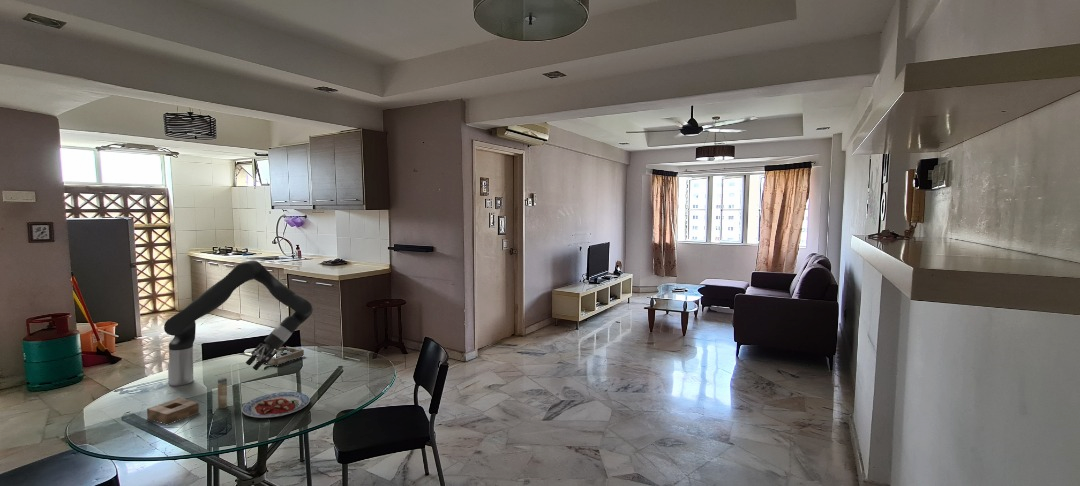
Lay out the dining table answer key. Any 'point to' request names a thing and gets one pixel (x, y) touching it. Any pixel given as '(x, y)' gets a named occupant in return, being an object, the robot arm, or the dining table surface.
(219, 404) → the dowel
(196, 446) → the dining table surface
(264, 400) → the ceramic plate
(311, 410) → the dining table surface
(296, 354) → the figure corral
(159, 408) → the socket block
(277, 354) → the soldier figure
